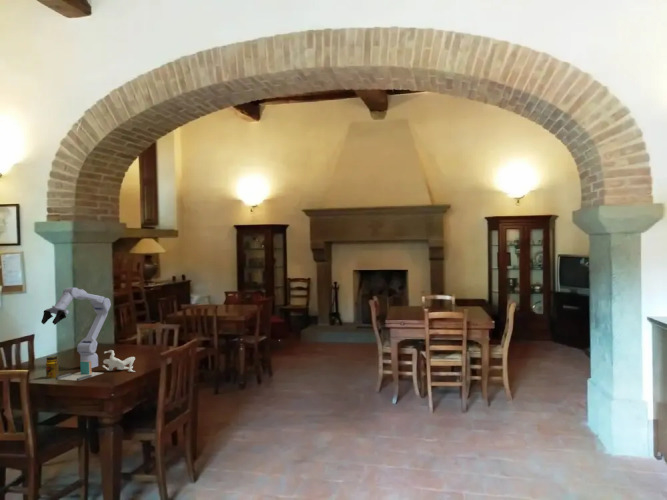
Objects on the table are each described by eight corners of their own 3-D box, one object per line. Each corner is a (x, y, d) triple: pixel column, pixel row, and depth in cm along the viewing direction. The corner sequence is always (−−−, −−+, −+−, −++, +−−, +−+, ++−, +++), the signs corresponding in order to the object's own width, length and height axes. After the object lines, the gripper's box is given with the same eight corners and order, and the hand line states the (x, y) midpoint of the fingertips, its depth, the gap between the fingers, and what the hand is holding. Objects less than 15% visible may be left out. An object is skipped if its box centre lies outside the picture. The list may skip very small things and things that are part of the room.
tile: (83, 373, 299) (83, 360, 299) (91, 373, 297) (91, 361, 297) (80, 373, 297) (80, 361, 297) (88, 374, 295) (88, 361, 295)
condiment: (43, 380, 287) (42, 358, 287) (49, 377, 295) (48, 355, 295) (57, 379, 288) (57, 357, 288) (63, 376, 296) (62, 354, 296)
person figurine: (137, 350, 311) (104, 347, 304) (138, 358, 300) (104, 356, 292) (133, 370, 313) (100, 369, 305) (134, 380, 301) (100, 378, 294)
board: (82, 372, 303) (82, 369, 303) (104, 374, 298) (104, 371, 298) (56, 380, 286) (55, 377, 286) (78, 382, 281) (78, 378, 281)
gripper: (47, 299, 296) (33, 318, 286) (68, 299, 292) (54, 318, 282) (54, 307, 301) (40, 326, 291) (75, 308, 296) (61, 327, 287)
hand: (48, 323), depth 287 cm, fingers open, 7 cm apart
